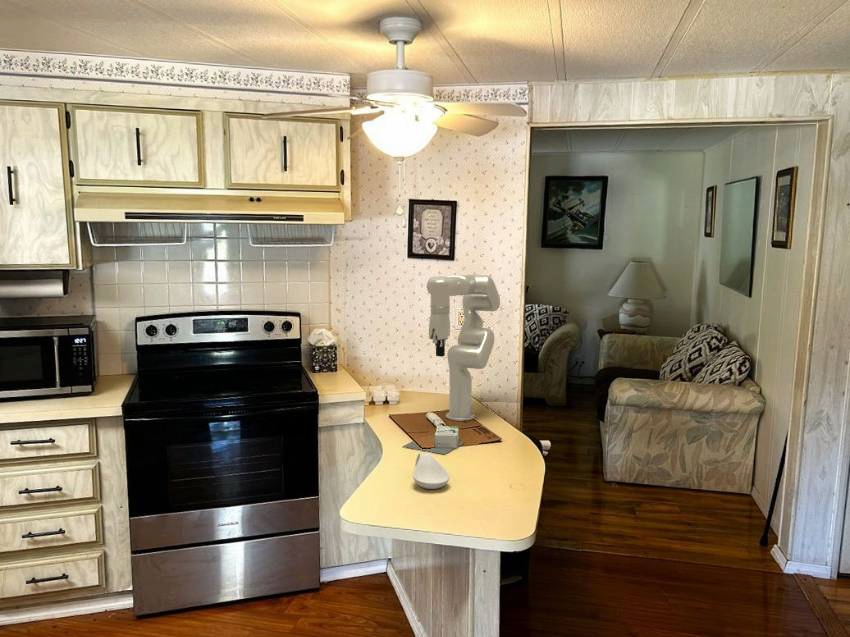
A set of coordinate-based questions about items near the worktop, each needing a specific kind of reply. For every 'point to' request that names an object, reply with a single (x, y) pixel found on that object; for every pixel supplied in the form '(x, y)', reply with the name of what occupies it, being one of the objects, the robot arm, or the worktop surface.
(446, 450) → the mat
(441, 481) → the spoon rest
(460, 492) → the worktop surface
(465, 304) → the robot arm
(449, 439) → the ink box
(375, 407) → the worktop surface
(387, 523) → the worktop surface
